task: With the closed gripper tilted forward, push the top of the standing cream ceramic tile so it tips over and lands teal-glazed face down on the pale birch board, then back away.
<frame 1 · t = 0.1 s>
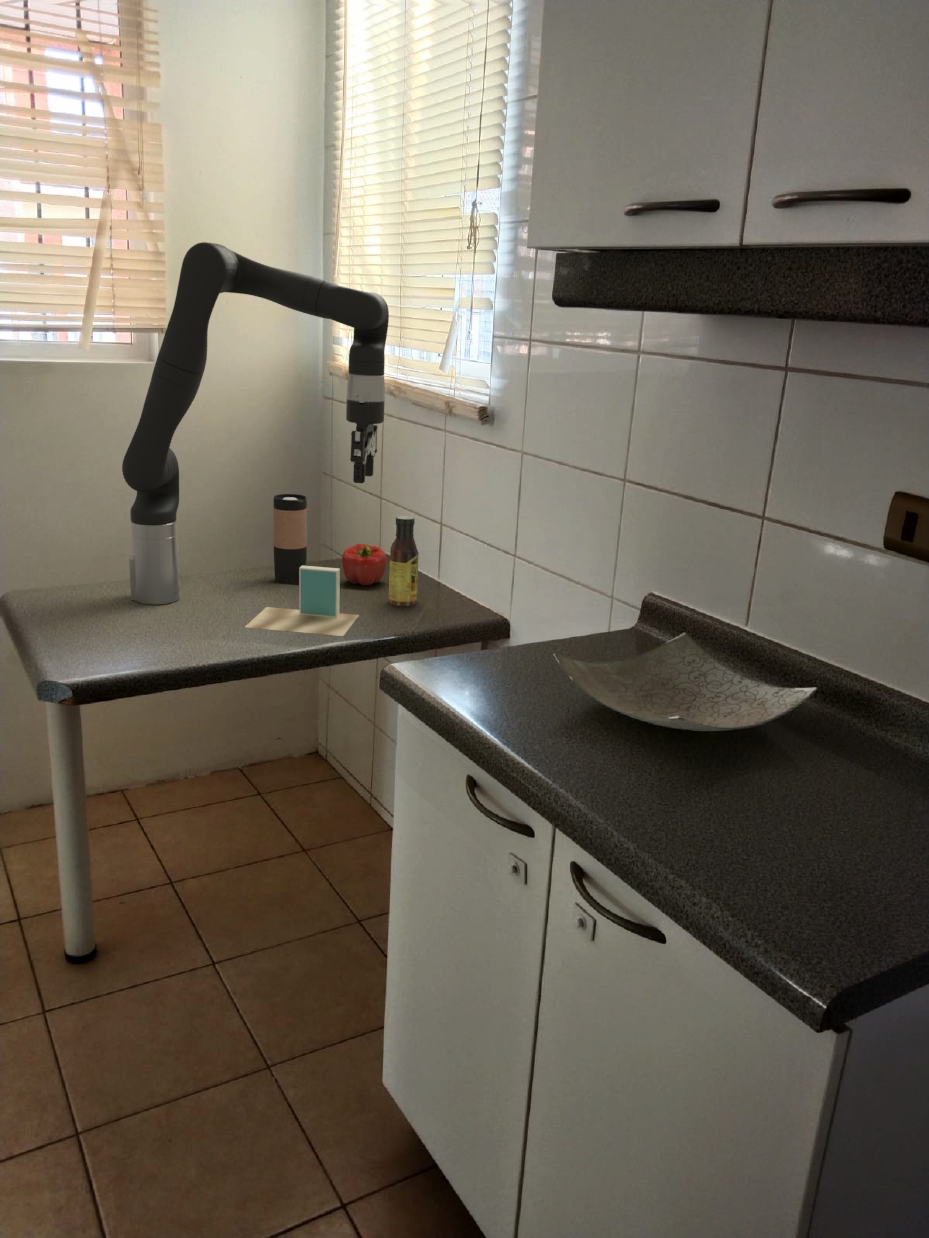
hand: (363, 479, 203), 29 cm above the table, tool pointing down, fingers open, 8 cm apart
board: (303, 625, 204), on the table
sauce bottle: (402, 607, 221), on the table
tile: (319, 614, 209), point 1 cm above the table, touching board
vegetable: (364, 584, 236), on the table
travel mug: (290, 582, 235), on the table
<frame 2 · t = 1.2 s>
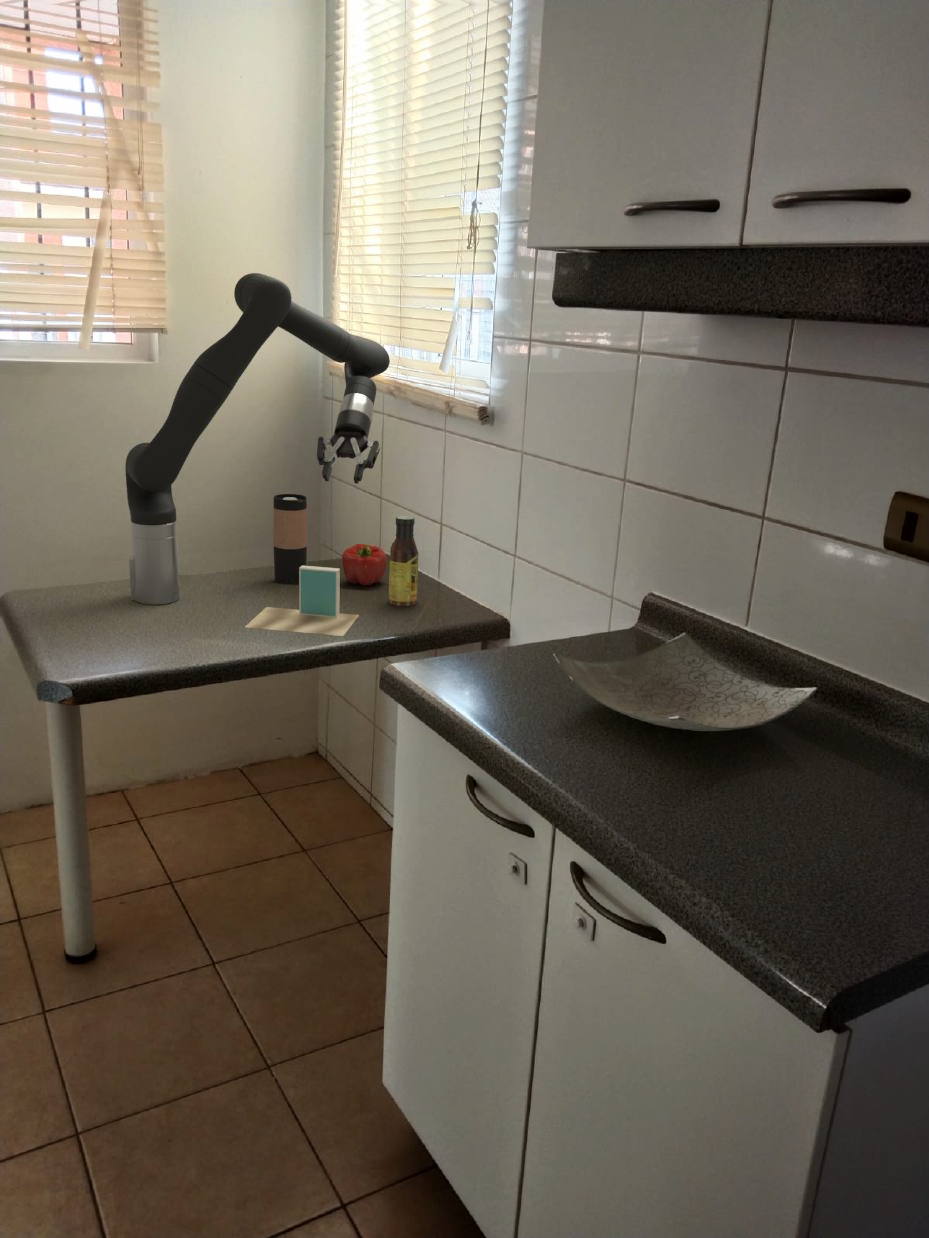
hand: (341, 480, 217), 26 cm above the table, tool tilted 45°, fingers open, 6 cm apart
nothing on the table moved.
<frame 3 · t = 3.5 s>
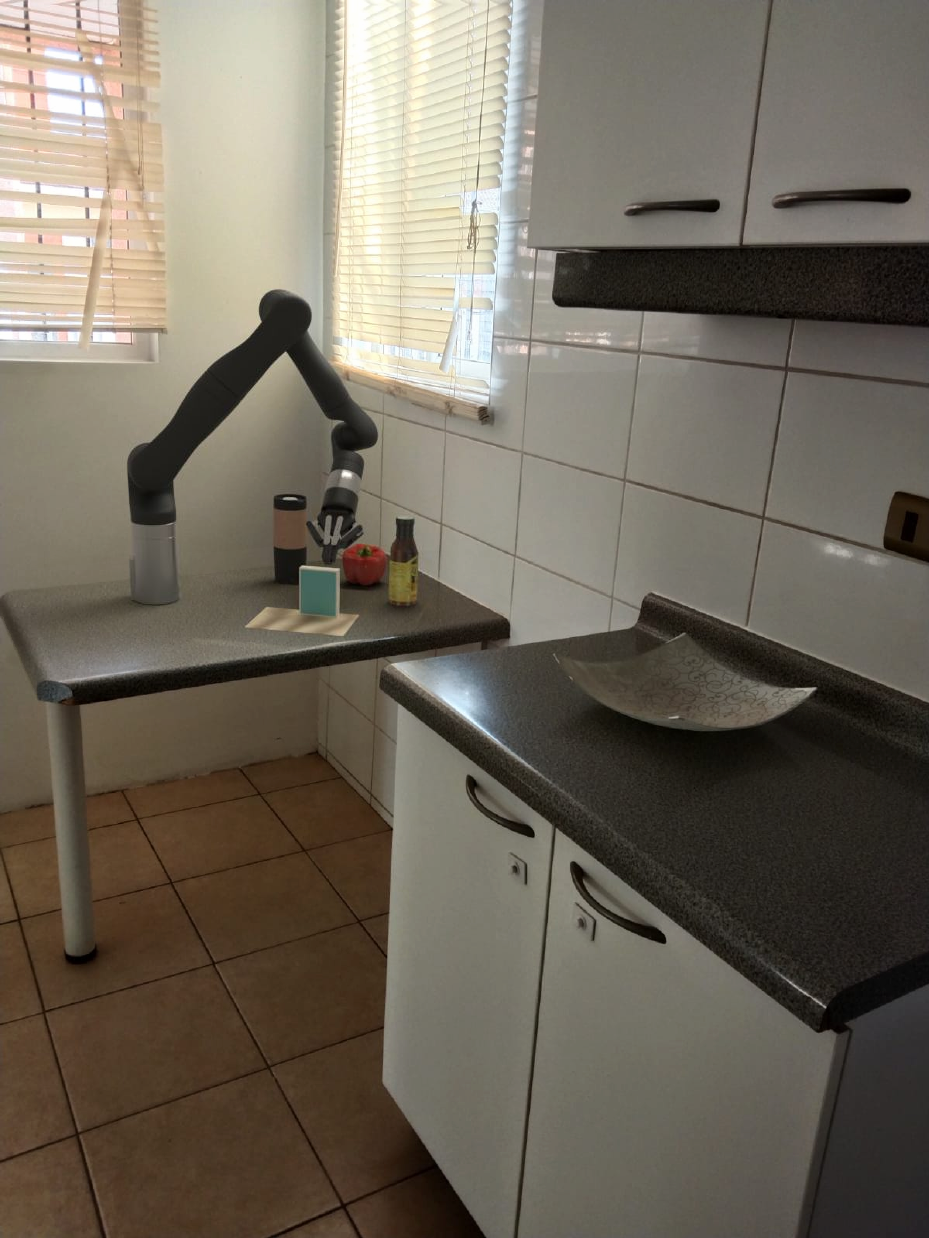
hand: (327, 563, 212), 10 cm above the table, tool tilted 45°, fingers closed
nothing on the table moved.
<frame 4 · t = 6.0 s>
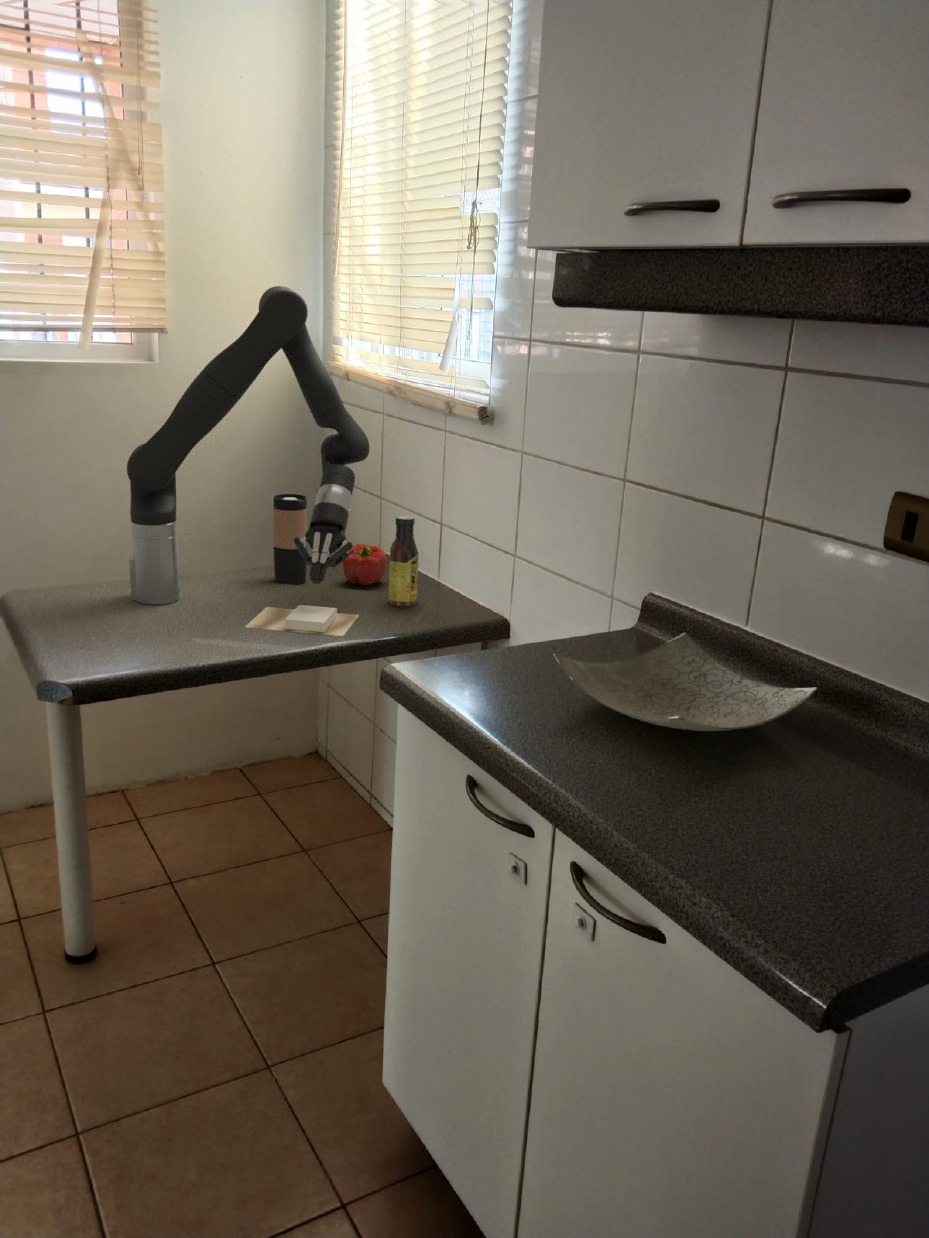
hand: (315, 581, 204), 9 cm above the table, tool tilted 45°, fingers closed
tile: (317, 611, 207), point 2 cm above the table, tilted 90°, touching board
everything else where it was.
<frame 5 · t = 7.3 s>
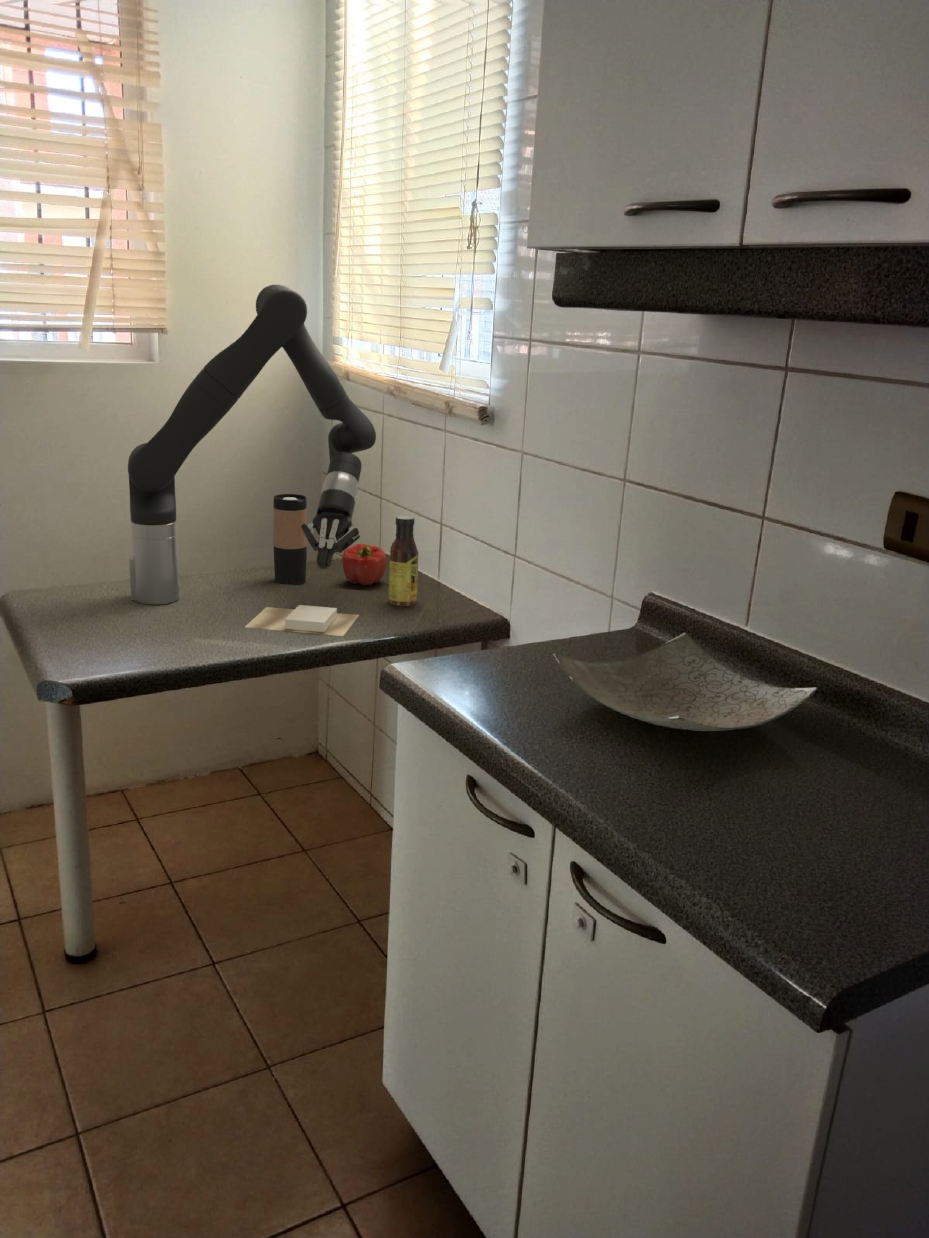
hand: (322, 566, 208), 11 cm above the table, tool tilted 45°, fingers closed
nothing on the table moved.
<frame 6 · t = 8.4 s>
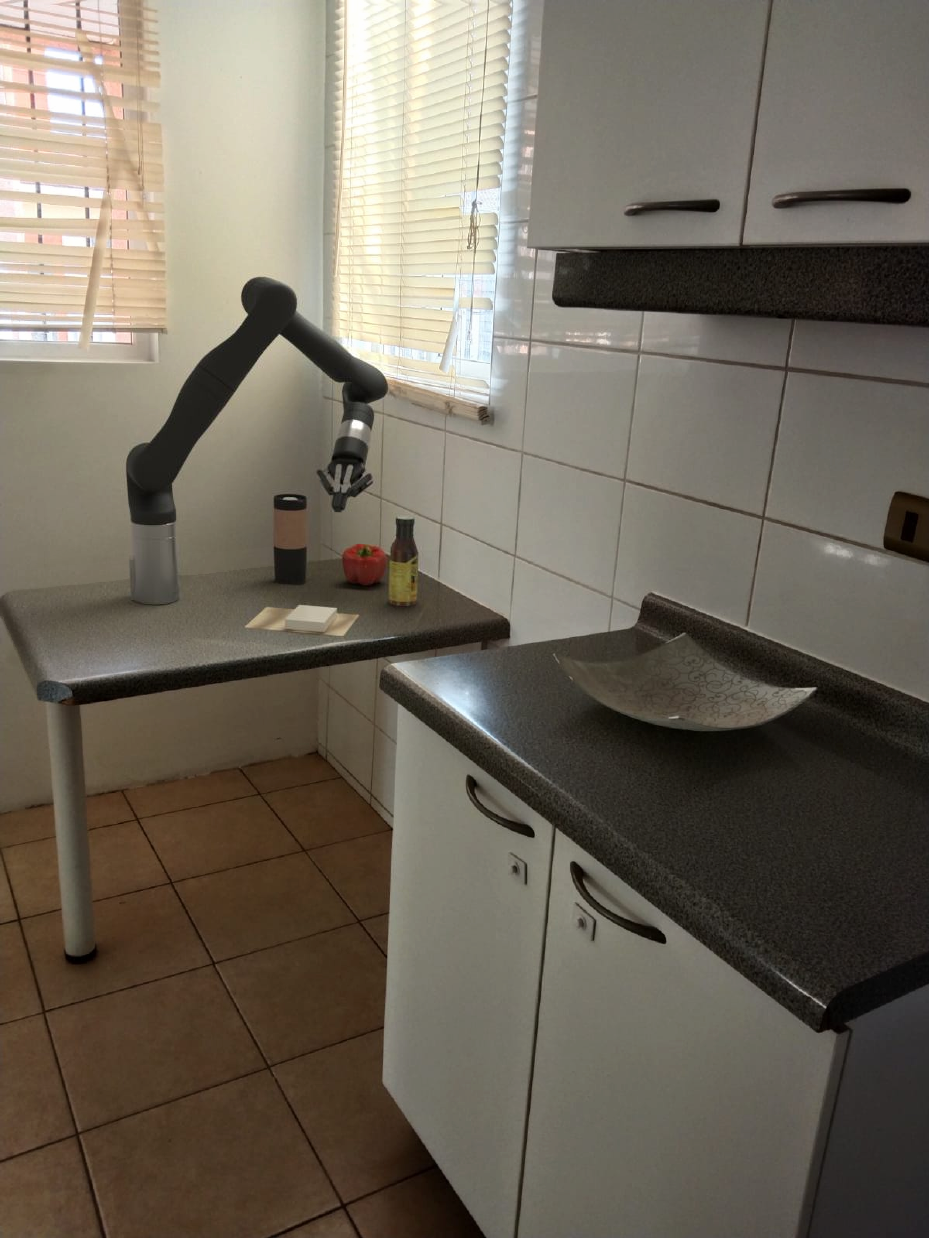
hand: (337, 510, 216), 20 cm above the table, tool tilted 45°, fingers closed
nothing on the table moved.
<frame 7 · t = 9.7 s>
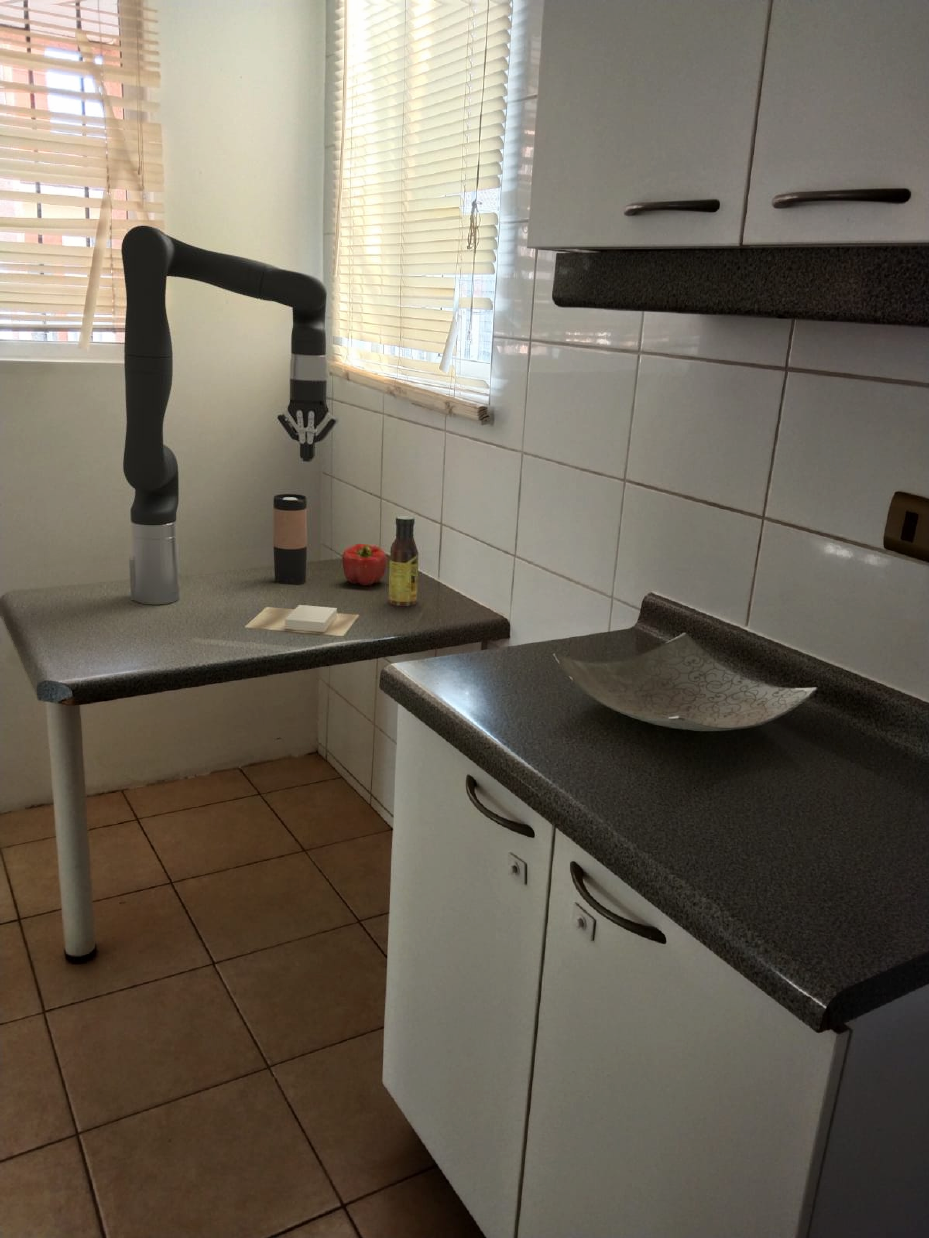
hand: (307, 461, 212), 31 cm above the table, tool pointing down, fingers closed
nothing on the table moved.
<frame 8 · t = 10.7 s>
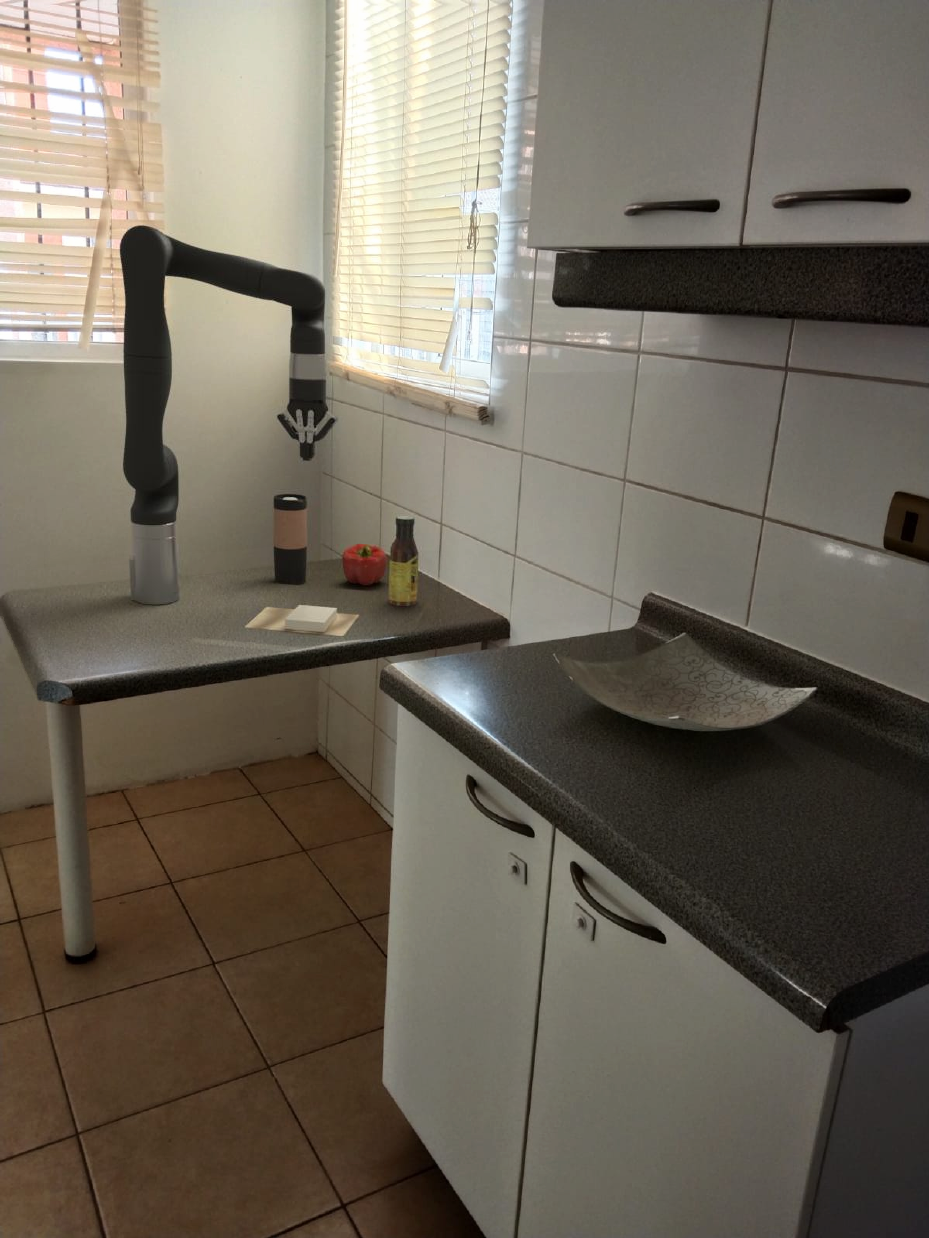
hand: (307, 460, 212), 31 cm above the table, tool pointing down, fingers closed
nothing on the table moved.
at the end: tile tilted 90°; tile inside the target area on the board (3.9 cm from its centre), point 2.1 cm above the board's base; tile touching board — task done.
